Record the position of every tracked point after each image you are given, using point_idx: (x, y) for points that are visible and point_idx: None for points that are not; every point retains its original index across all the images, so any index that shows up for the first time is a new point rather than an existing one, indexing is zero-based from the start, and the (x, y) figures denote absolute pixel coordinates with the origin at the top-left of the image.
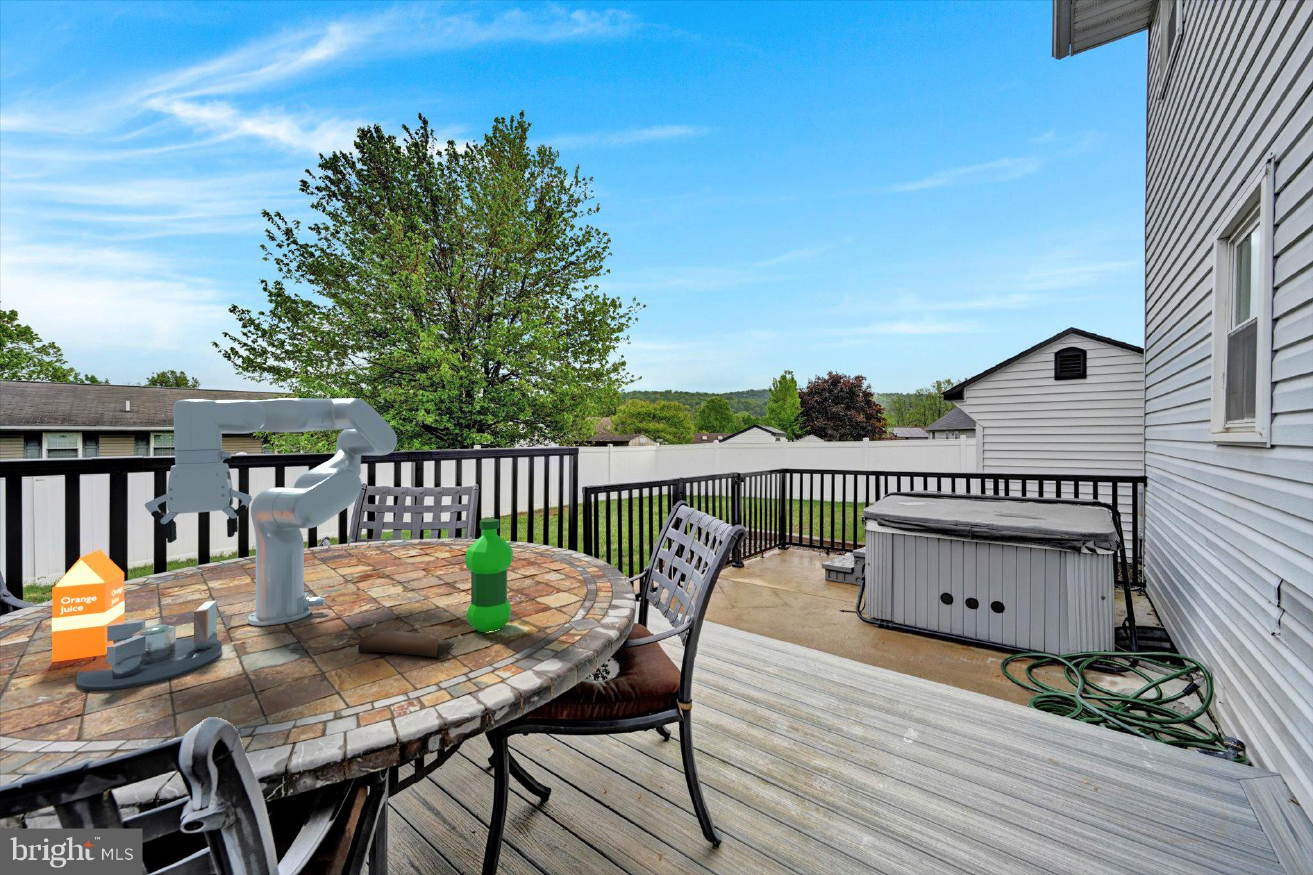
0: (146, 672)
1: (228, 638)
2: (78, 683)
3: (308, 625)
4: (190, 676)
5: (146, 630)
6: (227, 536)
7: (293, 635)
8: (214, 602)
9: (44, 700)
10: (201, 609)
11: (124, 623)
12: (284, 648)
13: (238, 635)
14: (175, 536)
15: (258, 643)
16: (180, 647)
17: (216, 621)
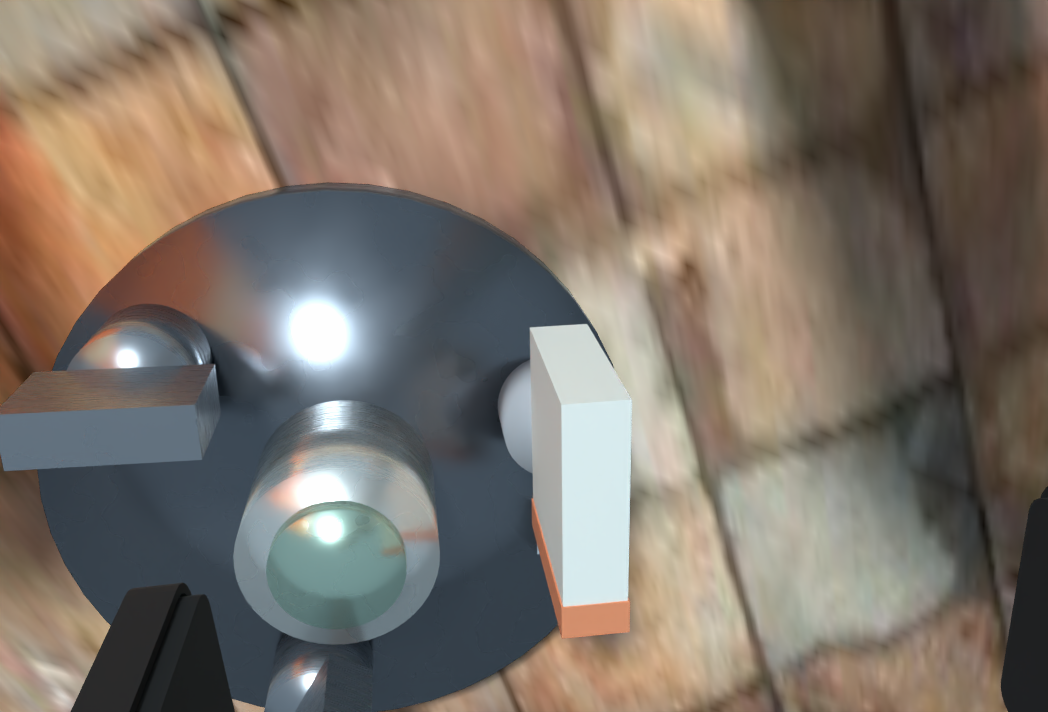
0: (400, 662)
1: (593, 153)
2: None
3: (1009, 90)
4: (564, 646)
5: (307, 596)
6: (1007, 709)
7: (930, 258)
8: (630, 450)
9: None
10: (594, 604)
11: (92, 447)
12: (893, 451)
13: (638, 115)
14: (202, 685)
15: (769, 322)
16: (418, 366)
17: (597, 343)
